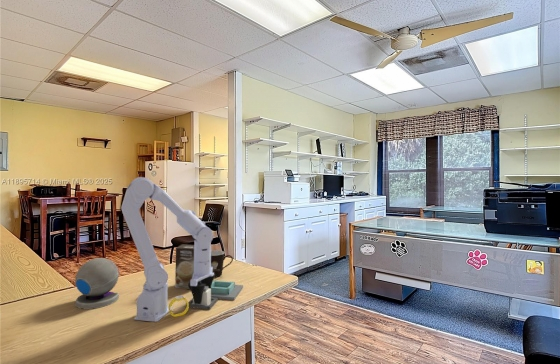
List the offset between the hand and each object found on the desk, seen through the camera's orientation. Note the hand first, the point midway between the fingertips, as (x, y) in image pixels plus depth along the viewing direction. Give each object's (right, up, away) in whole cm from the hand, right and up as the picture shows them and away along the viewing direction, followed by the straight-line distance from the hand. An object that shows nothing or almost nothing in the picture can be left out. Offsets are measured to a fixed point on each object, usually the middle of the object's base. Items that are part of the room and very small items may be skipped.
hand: (202, 299), depth 103 cm
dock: (+5, -2, +10) cm, 12 cm away
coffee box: (-10, -1, +17) cm, 19 cm away
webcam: (-37, -1, +1) cm, 37 cm away
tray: (0, -2, 0) cm, 2 cm away
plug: (0, -2, 0) cm, 2 cm away
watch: (-5, -2, -8) cm, 10 cm away
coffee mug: (-1, -1, +29) cm, 29 cm away
